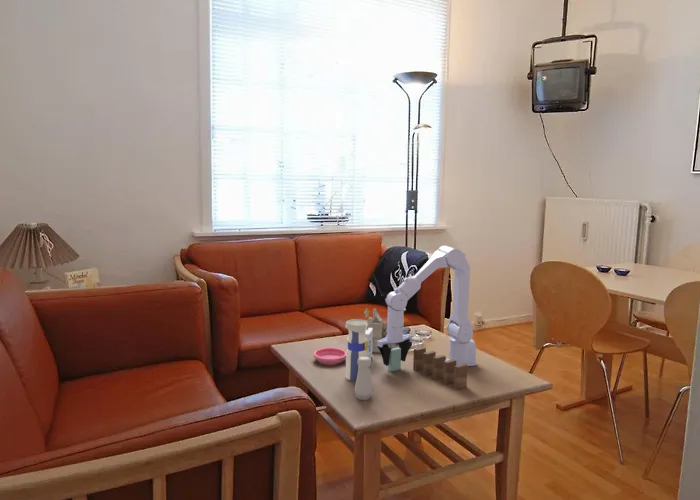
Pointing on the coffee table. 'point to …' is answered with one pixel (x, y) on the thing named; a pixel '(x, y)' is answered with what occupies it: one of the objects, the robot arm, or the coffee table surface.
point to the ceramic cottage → (379, 331)
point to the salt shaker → (363, 379)
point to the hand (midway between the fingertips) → (394, 362)
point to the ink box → (369, 341)
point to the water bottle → (356, 345)
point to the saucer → (330, 356)
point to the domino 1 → (395, 359)
